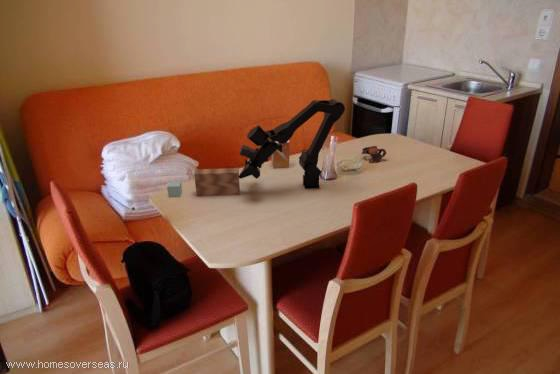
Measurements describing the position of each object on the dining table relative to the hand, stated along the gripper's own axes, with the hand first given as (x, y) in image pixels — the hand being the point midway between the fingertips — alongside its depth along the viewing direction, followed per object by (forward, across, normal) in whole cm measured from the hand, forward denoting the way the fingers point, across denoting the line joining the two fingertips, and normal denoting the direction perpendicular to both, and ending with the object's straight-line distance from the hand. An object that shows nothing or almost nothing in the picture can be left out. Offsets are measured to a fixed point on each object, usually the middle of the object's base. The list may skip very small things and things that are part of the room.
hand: (239, 177), depth 182 cm
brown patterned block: (+11, 0, -2) cm, 11 cm away
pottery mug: (-42, -32, +52) cm, 74 cm away
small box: (-9, -28, +18) cm, 35 cm away
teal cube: (+24, 0, -15) cm, 28 cm away
